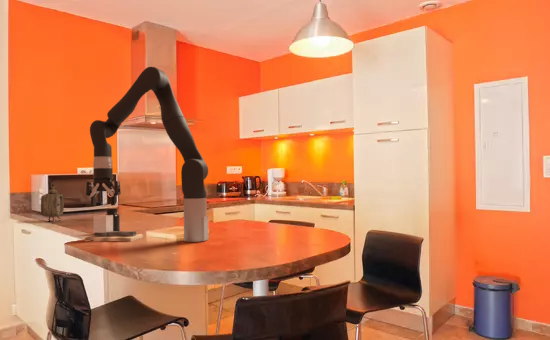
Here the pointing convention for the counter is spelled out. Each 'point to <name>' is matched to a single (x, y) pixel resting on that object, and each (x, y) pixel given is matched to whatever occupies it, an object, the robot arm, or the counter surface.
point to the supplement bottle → (114, 218)
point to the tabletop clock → (52, 203)
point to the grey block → (102, 223)
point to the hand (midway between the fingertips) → (103, 205)
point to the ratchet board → (115, 236)
